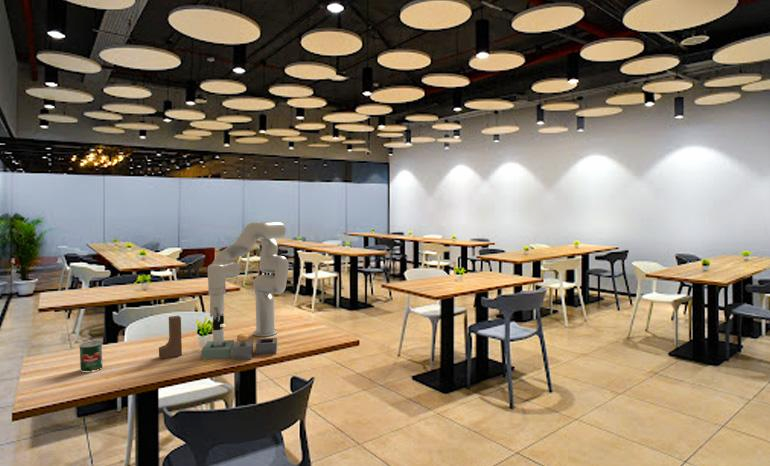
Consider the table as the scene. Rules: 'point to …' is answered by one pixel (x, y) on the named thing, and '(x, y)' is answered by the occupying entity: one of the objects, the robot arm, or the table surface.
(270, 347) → the socket block
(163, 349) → the wooden block
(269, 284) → the robot arm
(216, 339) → the steel peg
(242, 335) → the release button
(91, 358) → the canned tomato
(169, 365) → the table surface
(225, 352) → the green recessed block
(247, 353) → the release housing
